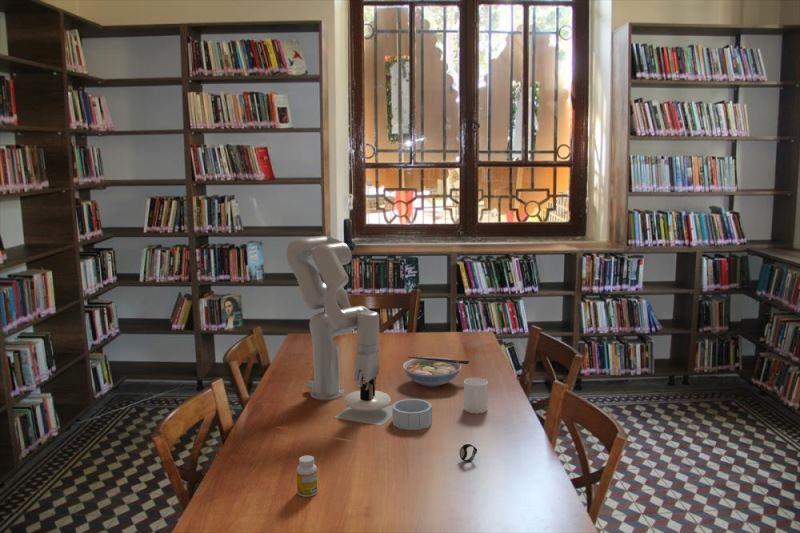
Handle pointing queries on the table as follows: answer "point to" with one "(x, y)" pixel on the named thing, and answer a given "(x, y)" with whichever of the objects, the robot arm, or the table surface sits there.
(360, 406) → the lid
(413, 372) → the ramen bowl
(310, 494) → the supplement bottle
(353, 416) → the mat
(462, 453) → the smartwatch
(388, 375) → the table surface
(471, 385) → the mug
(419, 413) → the bowl
